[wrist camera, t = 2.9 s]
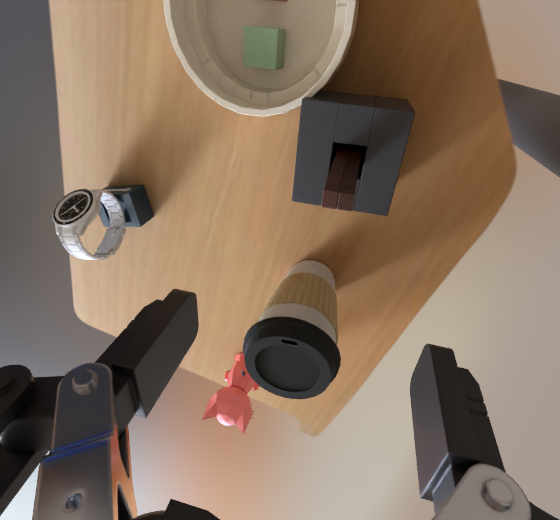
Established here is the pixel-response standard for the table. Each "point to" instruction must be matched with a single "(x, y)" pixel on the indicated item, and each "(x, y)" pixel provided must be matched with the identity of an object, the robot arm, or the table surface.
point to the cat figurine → (233, 397)
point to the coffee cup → (296, 335)
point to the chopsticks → (342, 178)
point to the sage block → (263, 47)
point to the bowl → (229, 49)
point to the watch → (112, 210)
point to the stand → (357, 131)
